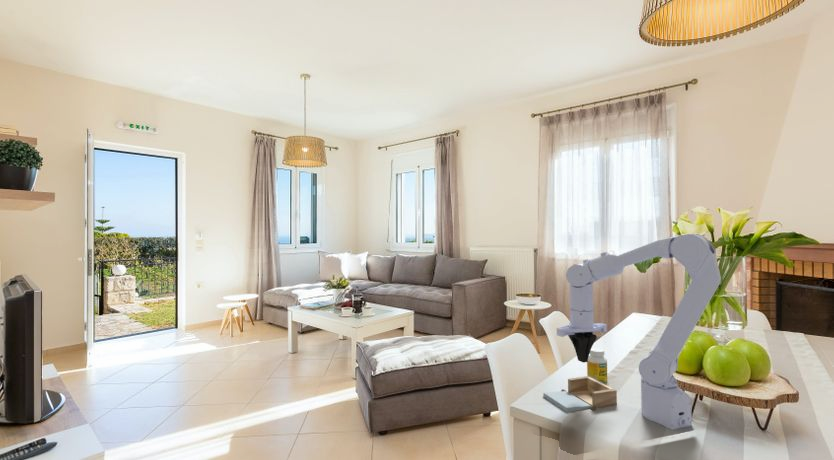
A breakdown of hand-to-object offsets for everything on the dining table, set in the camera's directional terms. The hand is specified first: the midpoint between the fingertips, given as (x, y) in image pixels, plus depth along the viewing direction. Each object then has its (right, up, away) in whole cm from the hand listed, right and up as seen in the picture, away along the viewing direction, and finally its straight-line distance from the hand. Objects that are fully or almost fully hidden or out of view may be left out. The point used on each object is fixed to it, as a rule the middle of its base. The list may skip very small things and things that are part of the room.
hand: (582, 361), depth 101 cm
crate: (+1, -10, -2) cm, 10 cm away
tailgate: (-2, -9, -3) cm, 10 cm away
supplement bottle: (+9, -10, +11) cm, 18 cm away
